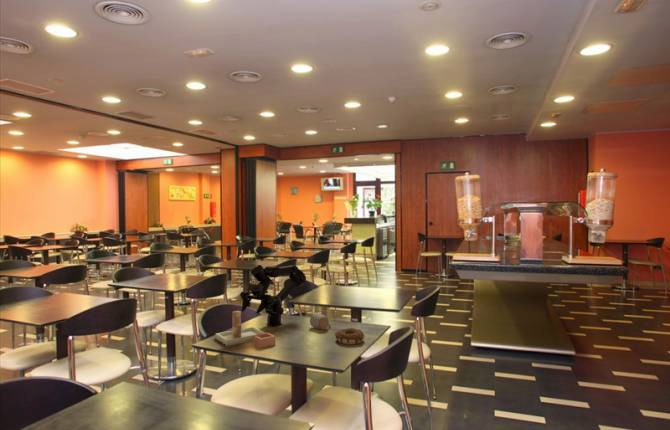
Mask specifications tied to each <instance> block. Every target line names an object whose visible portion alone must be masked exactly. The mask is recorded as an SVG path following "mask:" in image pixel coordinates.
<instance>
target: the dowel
mask: <svg viewBox="0 0 670 430" xmlns="http://www.w3.org/2000/svg"><path fill="white" fill-rule="evenodd" d="M231 313H232V315H231V316H232V317H231V319H232V330H233V339H235V338H241V329H242V310H235V311H234V310H233V311H232V312H231Z"/></svg>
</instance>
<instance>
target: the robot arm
mask: <svg viewBox="0 0 670 430" xmlns="http://www.w3.org/2000/svg"><path fill="white" fill-rule="evenodd" d="M285 274H288V276H289V281H288V282H287V283H286V285H285V286H283V288H282V289H281V290H280V291H279V292H278V293H277V294H276V295H271V294H268V293H269V291H268V289H269V288H270V286H271V285H272V286H273V285H274V284H275V283H274V279H276V278H278V277H280V276H281V275H285ZM250 275H252V277H253V278H254V279H255V280H256V281H257V282H258V283H257V284H253V283H248V285H247V288H246V290H247V291H241V292H240V294H239V297H240V298H241V299H242V305H241V313H243V312H245V310H246V309H247V308H248V307H249V305H250V304H251V301H252V300H256V301H260V303H259V305H258V307H257V310H256V312H255V314H257V315H258V314H260V313H261V312H262V311H264V310H265V311H264V312H265V313H266V314H267V315H268V316H266V317H267V320H266V322H267V323H266V325H268V326H270V327H278V326H282V325H283V323H282V314H283V315H284V311H285V309H284V308H283V307H282V306H283V302H284V301H285V299H286V298H287V297H289V296H290V294H292V292H293V291H294V290H295V289H296V288H298V287H300V286H302V285H304V284H305V283H306V281H307V276H306V274H305V273H304V272H303V271H302V270H300V269H299V267H298V266H297V265H292V264H291V265H286V266H278V267H276V266H265V267H263V266H262V265H261V264H257V266H255V267H253V268H252V269H251V270H250ZM272 278H273V279H272ZM249 292H250V293H249Z"/></svg>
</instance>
